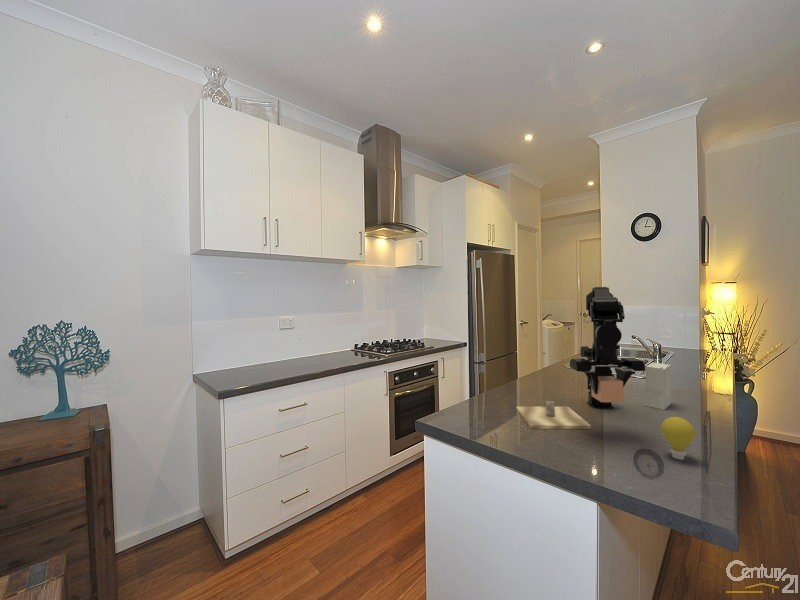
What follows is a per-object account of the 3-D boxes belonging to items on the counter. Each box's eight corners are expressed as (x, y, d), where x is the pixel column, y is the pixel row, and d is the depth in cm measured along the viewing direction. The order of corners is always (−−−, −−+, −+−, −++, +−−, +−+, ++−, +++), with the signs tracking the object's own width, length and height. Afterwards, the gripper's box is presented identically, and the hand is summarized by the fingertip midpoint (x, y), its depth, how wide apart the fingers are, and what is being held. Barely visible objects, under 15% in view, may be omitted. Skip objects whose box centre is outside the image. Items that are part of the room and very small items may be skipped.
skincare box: (652, 401, 130) (651, 362, 130) (672, 405, 125) (671, 364, 125) (645, 406, 125) (644, 365, 124) (665, 410, 120) (664, 367, 120)
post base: (568, 409, 124) (567, 394, 124) (591, 428, 106) (590, 411, 106) (516, 409, 126) (516, 394, 125) (530, 428, 108) (530, 411, 108)
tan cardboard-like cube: (612, 395, 104) (612, 376, 104) (623, 402, 98) (623, 381, 98) (591, 396, 105) (591, 376, 105) (601, 402, 99) (600, 381, 99)
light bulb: (654, 452, 90) (654, 413, 90) (678, 450, 91) (678, 412, 90) (677, 464, 83) (676, 423, 83) (703, 462, 84) (702, 421, 84)
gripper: (624, 336, 109) (625, 386, 109) (562, 337, 110) (563, 386, 110) (646, 341, 97) (647, 396, 98) (577, 342, 99) (578, 397, 99)
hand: (606, 393), depth 102 cm, fingers closed on tan cardboard-like cube, 6 cm apart
